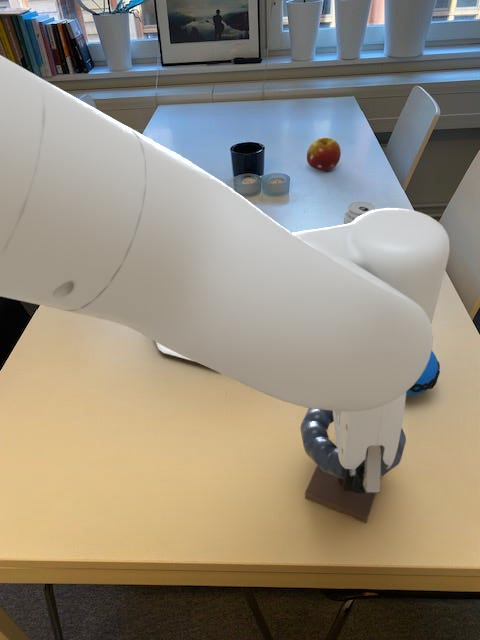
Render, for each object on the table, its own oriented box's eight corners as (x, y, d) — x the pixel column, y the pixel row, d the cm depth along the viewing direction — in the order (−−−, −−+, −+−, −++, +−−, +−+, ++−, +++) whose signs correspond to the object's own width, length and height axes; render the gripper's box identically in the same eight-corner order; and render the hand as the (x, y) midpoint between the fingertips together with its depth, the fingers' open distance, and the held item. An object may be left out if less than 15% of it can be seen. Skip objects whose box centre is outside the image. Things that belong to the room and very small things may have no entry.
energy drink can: (353, 263, 102) (361, 196, 93) (375, 276, 99) (385, 208, 89) (332, 274, 100) (338, 206, 90) (354, 287, 96) (362, 218, 86)
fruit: (316, 177, 136) (318, 148, 131) (300, 166, 142) (300, 138, 137) (346, 169, 139) (348, 141, 133) (328, 159, 145) (330, 131, 140)
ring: (389, 502, 51) (393, 486, 50) (286, 463, 56) (286, 447, 54) (411, 421, 59) (415, 405, 57) (319, 392, 64) (321, 376, 62)
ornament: (364, 384, 77) (371, 337, 70) (399, 359, 80) (409, 311, 74) (409, 417, 71) (422, 369, 65) (445, 388, 75) (460, 340, 69)
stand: (366, 523, 60) (376, 476, 53) (304, 497, 63) (307, 450, 56) (383, 471, 65) (394, 422, 58) (325, 449, 68) (330, 401, 61)
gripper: (324, 294, 49) (316, 412, 61) (343, 428, 36) (327, 545, 48) (401, 293, 49) (377, 412, 60) (447, 428, 36) (406, 547, 48)
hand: (355, 470), depth 54 cm, fingers closed on ring, 3 cm apart
